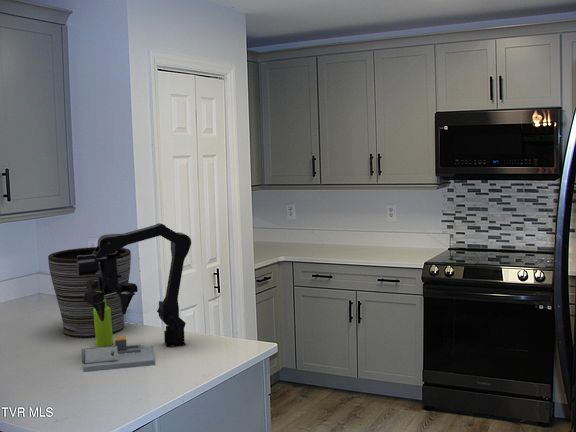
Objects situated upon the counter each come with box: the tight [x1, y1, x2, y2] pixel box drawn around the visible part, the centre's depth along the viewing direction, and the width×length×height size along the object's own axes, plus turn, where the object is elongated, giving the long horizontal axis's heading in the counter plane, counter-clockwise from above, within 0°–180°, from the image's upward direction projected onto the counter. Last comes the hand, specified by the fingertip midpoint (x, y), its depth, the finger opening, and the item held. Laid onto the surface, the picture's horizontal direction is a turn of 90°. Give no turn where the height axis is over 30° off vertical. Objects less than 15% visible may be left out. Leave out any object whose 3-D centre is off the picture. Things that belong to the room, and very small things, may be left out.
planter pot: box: [47, 246, 132, 339], centre depth 256 cm, size 30×30×30 cm
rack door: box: [85, 345, 118, 363], centre depth 213 cm, size 10×2×4 cm, turn 103°
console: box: [81, 344, 156, 372], centre depth 219 cm, size 22×16×6 cm
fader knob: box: [114, 335, 128, 351], centre depth 224 cm, size 4×3×4 cm
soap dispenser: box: [93, 291, 114, 347], centre depth 237 cm, size 6×7×20 cm
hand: (113, 317), depth 227 cm, fingers open, 9 cm apart
